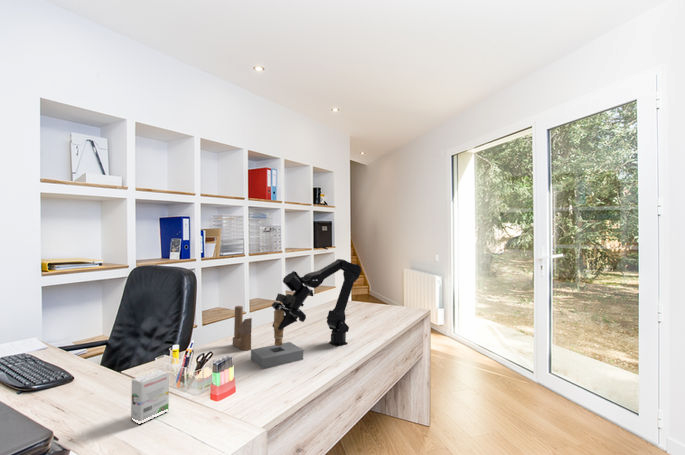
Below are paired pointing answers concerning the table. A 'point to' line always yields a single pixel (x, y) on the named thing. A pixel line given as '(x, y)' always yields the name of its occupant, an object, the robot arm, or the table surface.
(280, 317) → the teak leg
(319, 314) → the table surface
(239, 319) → the wooden block
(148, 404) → the ink box
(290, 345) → the seat board
